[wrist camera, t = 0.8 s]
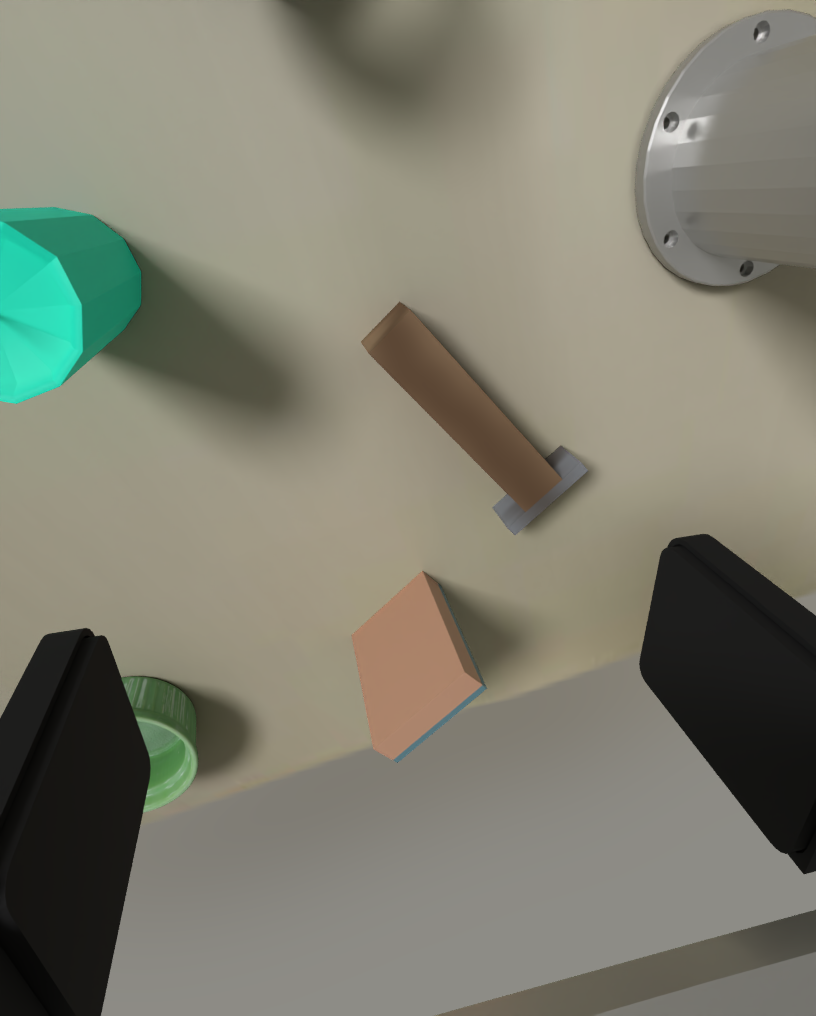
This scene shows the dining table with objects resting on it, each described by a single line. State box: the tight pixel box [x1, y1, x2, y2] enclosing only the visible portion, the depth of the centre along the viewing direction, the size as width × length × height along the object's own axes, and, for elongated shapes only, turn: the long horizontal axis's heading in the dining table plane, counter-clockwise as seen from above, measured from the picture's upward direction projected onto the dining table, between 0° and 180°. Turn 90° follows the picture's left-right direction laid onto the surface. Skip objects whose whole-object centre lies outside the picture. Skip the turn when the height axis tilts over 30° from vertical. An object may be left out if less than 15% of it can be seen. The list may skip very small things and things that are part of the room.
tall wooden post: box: [361, 302, 588, 535], centre depth 34 cm, size 6×15×3 cm, turn 43°
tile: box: [352, 571, 487, 763], centre depth 37 cm, size 7×2×10 cm, turn 133°
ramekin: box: [122, 677, 198, 813], centre depth 39 cm, size 9×9×4 cm
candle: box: [0, 207, 141, 404], centre depth 23 cm, size 6×6×12 cm
